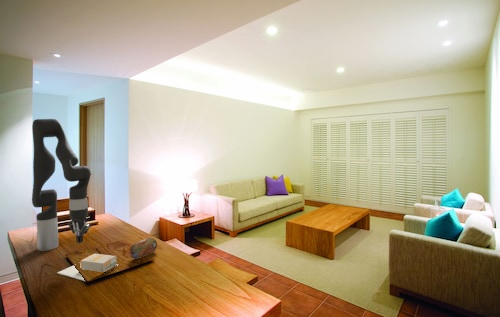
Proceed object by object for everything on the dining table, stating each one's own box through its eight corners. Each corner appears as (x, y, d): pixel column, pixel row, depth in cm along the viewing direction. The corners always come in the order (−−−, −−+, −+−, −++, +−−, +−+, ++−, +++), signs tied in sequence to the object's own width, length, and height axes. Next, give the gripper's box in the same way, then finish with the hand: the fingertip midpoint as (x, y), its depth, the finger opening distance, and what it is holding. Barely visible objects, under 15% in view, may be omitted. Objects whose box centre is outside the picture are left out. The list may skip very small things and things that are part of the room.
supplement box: (80, 270, 120) (103, 273, 117) (79, 260, 120) (103, 263, 117) (94, 262, 128) (117, 265, 125) (94, 253, 128) (116, 255, 125)
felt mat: (57, 273, 118) (57, 272, 118) (90, 258, 133) (90, 258, 133) (87, 282, 111) (87, 281, 111) (119, 265, 126) (118, 264, 126)
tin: (132, 262, 130) (131, 245, 129) (128, 260, 131) (128, 244, 131) (157, 251, 142) (157, 236, 142) (153, 250, 144) (153, 235, 143)
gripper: (61, 207, 123) (62, 243, 124) (80, 210, 118) (81, 247, 119) (76, 204, 130) (78, 237, 131) (95, 207, 125) (96, 241, 126)
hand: (79, 242), depth 125 cm, fingers closed
